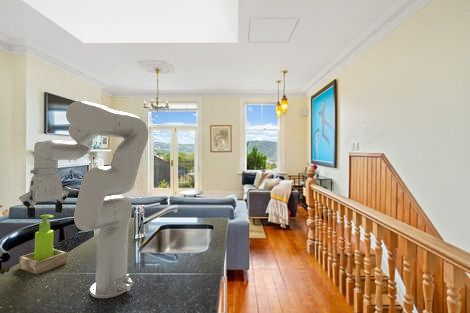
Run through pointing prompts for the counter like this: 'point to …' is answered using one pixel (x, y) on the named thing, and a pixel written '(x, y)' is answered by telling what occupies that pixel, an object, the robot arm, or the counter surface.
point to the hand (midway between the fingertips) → (45, 214)
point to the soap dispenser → (44, 239)
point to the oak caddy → (42, 262)
